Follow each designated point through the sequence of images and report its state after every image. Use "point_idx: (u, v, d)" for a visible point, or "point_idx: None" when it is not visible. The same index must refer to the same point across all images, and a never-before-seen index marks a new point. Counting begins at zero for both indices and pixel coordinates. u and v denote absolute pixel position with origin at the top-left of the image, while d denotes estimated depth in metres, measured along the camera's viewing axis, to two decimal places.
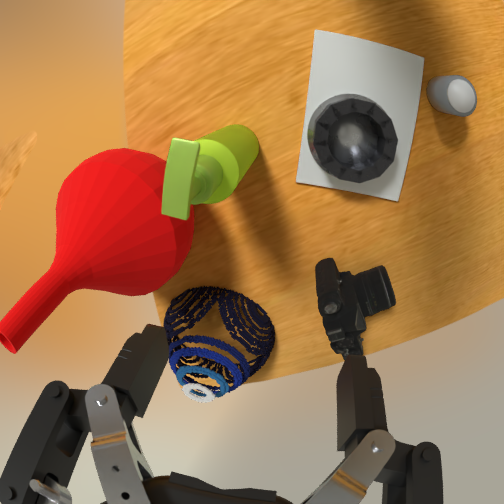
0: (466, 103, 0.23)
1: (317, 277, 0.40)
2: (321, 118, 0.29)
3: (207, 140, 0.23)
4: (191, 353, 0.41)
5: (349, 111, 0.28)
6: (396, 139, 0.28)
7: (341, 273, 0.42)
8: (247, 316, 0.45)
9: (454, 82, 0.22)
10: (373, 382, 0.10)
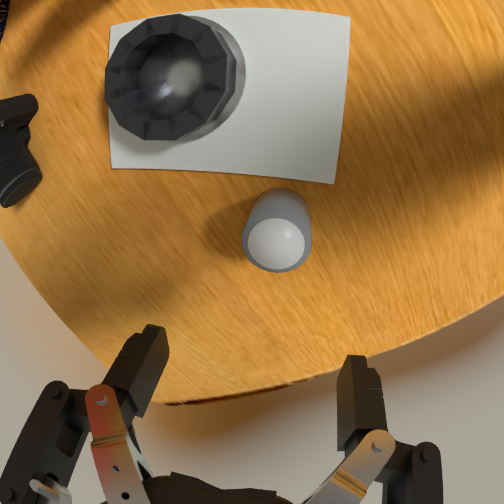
0: (265, 253, 0.21)
1: (9, 98, 0.19)
2: (186, 18, 0.15)
3: None
4: None
5: (203, 54, 0.16)
6: (175, 137, 0.19)
7: (27, 127, 0.24)
8: None
9: (295, 231, 0.20)
10: (373, 382, 0.10)
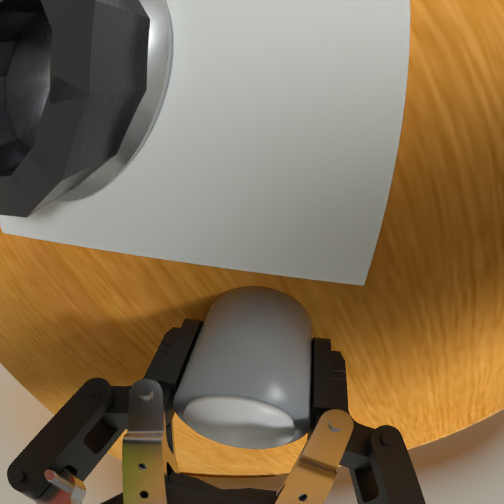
0: (220, 434, 0.10)
1: None
2: None
3: None
4: None
5: (51, 16, 0.04)
6: (25, 211, 0.07)
7: None
8: None
9: (277, 419, 0.08)
10: (337, 365, 0.11)
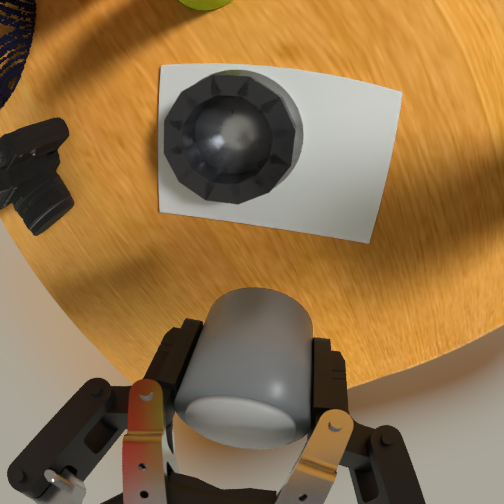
0: (221, 434, 0.10)
1: (38, 123, 0.21)
2: (255, 83, 0.17)
3: None
4: None
5: (272, 126, 0.19)
6: (238, 201, 0.22)
7: (56, 152, 0.26)
8: (1, 70, 0.18)
9: (278, 420, 0.08)
10: (337, 364, 0.11)
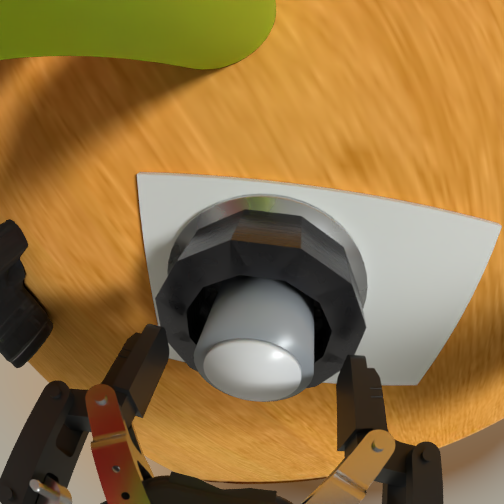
0: (234, 384, 0.12)
1: None
2: (312, 261, 0.11)
3: None
4: None
5: (332, 323, 0.12)
6: None
7: (19, 262, 0.19)
8: None
9: (286, 361, 0.10)
10: (373, 382, 0.10)
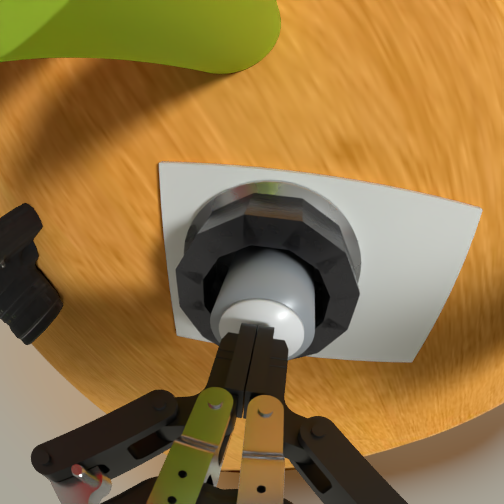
0: None
1: (1, 220, 0.17)
2: (312, 232, 0.13)
3: None
4: None
5: (330, 289, 0.14)
6: None
7: (32, 244, 0.22)
8: None
9: (290, 318, 0.13)
10: (279, 353, 0.11)
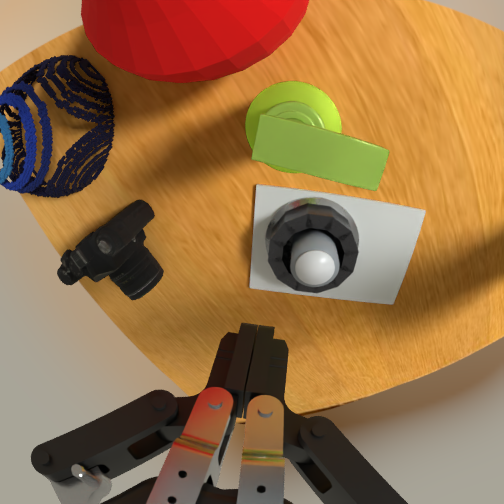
0: (307, 274, 0.30)
1: (130, 210, 0.32)
2: (337, 222, 0.29)
3: None
4: (25, 123, 0.21)
5: (344, 249, 0.30)
6: (317, 291, 0.33)
7: None
8: (87, 166, 0.30)
9: (329, 259, 0.28)
10: (279, 352, 0.11)
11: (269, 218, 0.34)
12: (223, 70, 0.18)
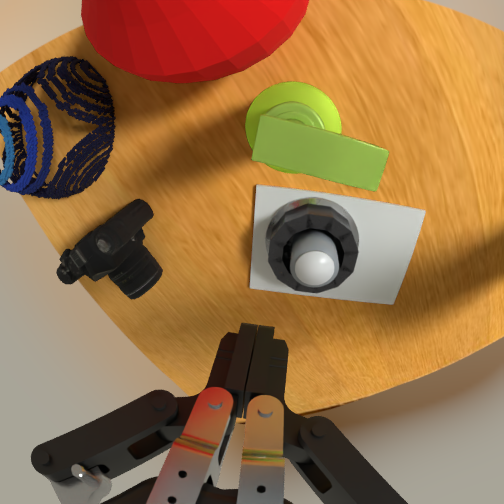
0: (307, 274, 0.30)
1: (129, 209, 0.32)
2: (337, 222, 0.29)
3: None
4: (26, 125, 0.21)
5: (344, 249, 0.30)
6: (317, 292, 0.33)
7: None
8: (88, 167, 0.30)
9: (328, 259, 0.28)
10: (279, 353, 0.11)
11: (269, 218, 0.34)
12: (223, 70, 0.18)
